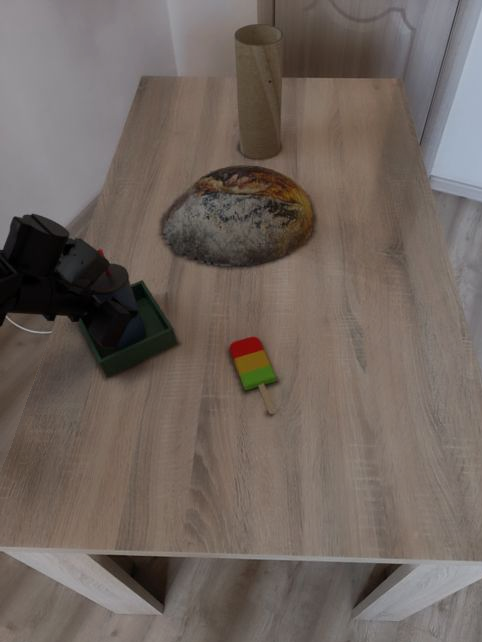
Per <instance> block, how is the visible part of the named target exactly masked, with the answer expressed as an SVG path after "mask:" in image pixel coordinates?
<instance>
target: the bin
mask: <svg viewBox="0 0 482 642" xmlns="http://www.w3.org/2000/svg"><path fill="white" fill-rule="evenodd" d="M130 285H131V288H132V291H133V294H134V297H135V300H136V303H137V306H138V309H139V313H140V316H141V319H142V322H143V325H144V328H145V337H144V339H143V340H142V341H140V342H138V343H135V344H133V345H131V346H129V347H127V348H124V349H121V348H117V347H116V348H102V347H101V346H100V345H99V343H98V342H97V341H96V340H95V339H94V338H93V337H92V336H91V335H90V333H89V331H88V329H89V327H90V325H91V322H92V320H93V318H92V317H91V316H90V315H89V314H88V313H87V314H86V315H81V317H80V319H79V322H78V323H79V325H80V327H81V329H82V333H83V334H84V335H85V338H86V339H87V342H88V343H89V346H90V349H91V350H92V352H93V354H94V356H95V358H96V360H97V362H98V364H99V366H100V368H101V369H102V372H103V373H104V375H105V377H106V378H109V377H111V376H113V375H116V374H117V373H119V372H122V371H124V370H126V369H128V368H130V367H133V366H134V365H136V364H139V363H141V362H143V361H145V360H147V359H150V358H151V357H153V356H155V355H158V354H160V353H162V352H164V351H166V350H169V349H170V348H172V347H174V346H176V345H178V341H177V336H176V333H175V330H174V328H173V326H172V324H171V323H170V321H169V319H168V318H167V316H166V315H165V313H164V312H163V310H162V308H161V307H160V305H159V303H158V302H157V300H156V299H155V296H154V295H153V294H152V292H151V291H150V289H149V288H148V286H147V284H146V283H145V281H144V279H141V280H139V281H136V282H134V283H130Z"/></svg>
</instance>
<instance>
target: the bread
mask: <svg viewBox="0 0 482 642" xmlns="http://www.w3.org/2000/svg"><path fill="white" fill-rule="evenodd" d="M314 217H315V216H314V214H313V210H312V204H311V201H310V199H309V197H308V195H307V194H306V191H304V189H303V188H302V186H301V185H300V184H299V183H298V182H297V181H295V180H294V179H293V178H291V177H289V176H288V175H286V174H284V173H282V172H279V171H277V170H275V169H273V168H272V169H271V168H268V167H264V166H260V165H247V164H245V165H243V164H242V165H241V164H240V165H231V166H225V167H221V168H218V169H215V170H212V171H209V172H208V173H206V174H204V175H203V176H200V177H199V179H198V180H196V181H195V182H193V184H192V185H190V187H188V188H187V189H186V190H185V191H184V192H183V193H182V194H181V195H180V197H178V198H177V199H176V201H175V202H174V203H173V204H171V206H170V208H169V209H168V210H167V212H166V214H165V217H164V220H163V225H164V226H163V232H162V234H163V235H164V239H166V240H165V243H167V244H168V245H169V244H170V245H171V248H172V250H173V251H174V252H175V253H176V254H177V255H179V256H183V255H184V254H185V255H186V256H187V258H188V260H189V259H190V260H192V261H195V260H196V259H198V261H199V263H201V264H204V263H205V262H206V264H207V265H212V264H213V265H214V266H220V267H246V266H247V267H252V266H258V265H261V264H264V263H269V262H271V261H276V260H277V259H281V257H285V256H288V255H289V254H291V253H292V252H294V251H295V250H296V249H298V248H299V247H301V246H303V245H304V244H305V243H306V242H307V240H309V239H310V238H311V237H312V234H311V232H313V226H314V225H313V224H314V221H315V218H314Z"/></svg>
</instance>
